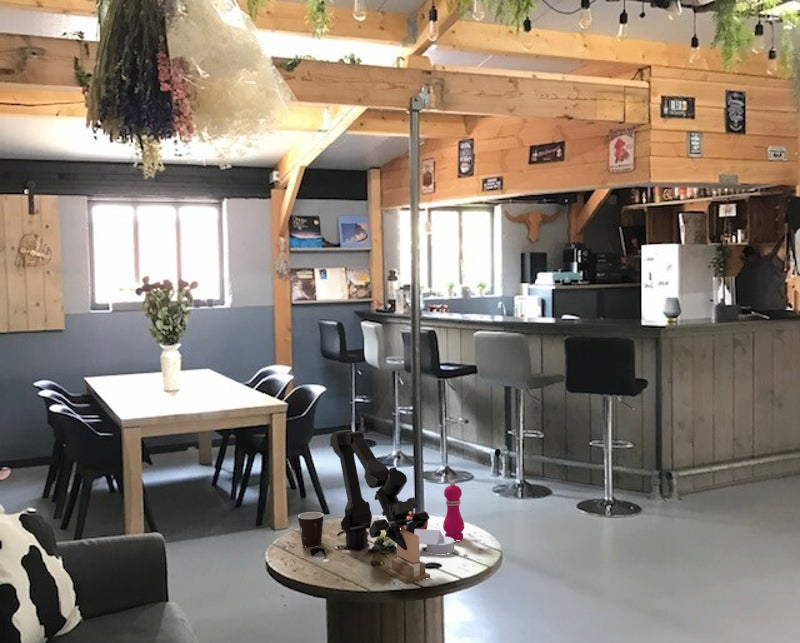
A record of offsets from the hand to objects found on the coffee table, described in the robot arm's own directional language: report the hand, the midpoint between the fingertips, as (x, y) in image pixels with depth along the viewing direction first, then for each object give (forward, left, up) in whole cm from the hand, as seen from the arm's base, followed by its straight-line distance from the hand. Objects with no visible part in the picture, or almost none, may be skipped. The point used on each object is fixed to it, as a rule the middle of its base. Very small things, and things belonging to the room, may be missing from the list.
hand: (410, 548), depth 243 cm
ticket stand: (-1, +1, -8) cm, 9 cm away
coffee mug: (-45, +12, -9) cm, 47 cm away
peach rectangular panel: (-1, +1, -3) cm, 3 cm away
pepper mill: (-4, +38, -9) cm, 39 cm away
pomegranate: (-19, +37, -9) cm, 43 cm away
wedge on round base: (-5, +25, -9) cm, 27 cm away
